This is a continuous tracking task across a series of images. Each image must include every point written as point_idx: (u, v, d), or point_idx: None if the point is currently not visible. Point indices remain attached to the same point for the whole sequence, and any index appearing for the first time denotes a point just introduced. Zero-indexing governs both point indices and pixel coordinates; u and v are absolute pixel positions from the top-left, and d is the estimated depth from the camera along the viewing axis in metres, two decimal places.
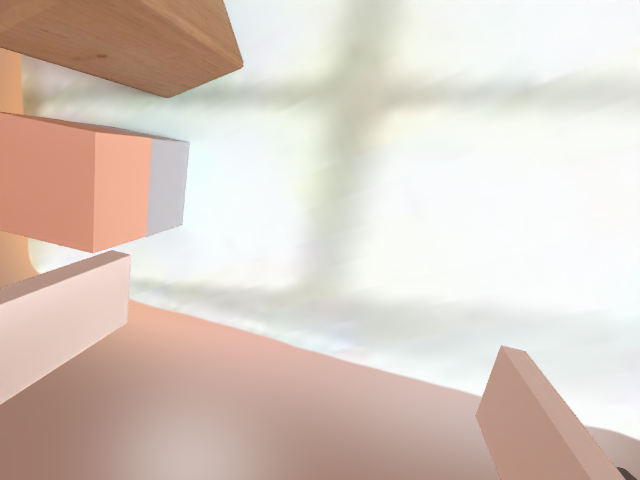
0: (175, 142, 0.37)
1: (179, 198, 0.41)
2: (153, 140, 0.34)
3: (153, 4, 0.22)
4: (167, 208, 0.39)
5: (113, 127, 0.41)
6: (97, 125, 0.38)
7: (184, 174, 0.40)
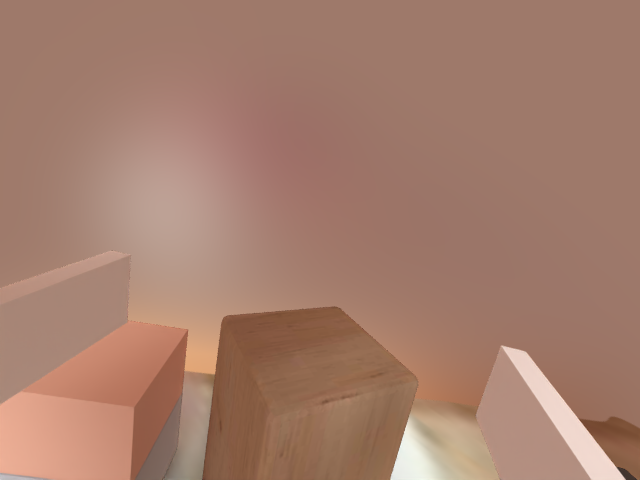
0: None
1: None
2: None
3: None
4: None
5: (175, 449, 0.35)
6: (176, 430, 0.34)
7: None
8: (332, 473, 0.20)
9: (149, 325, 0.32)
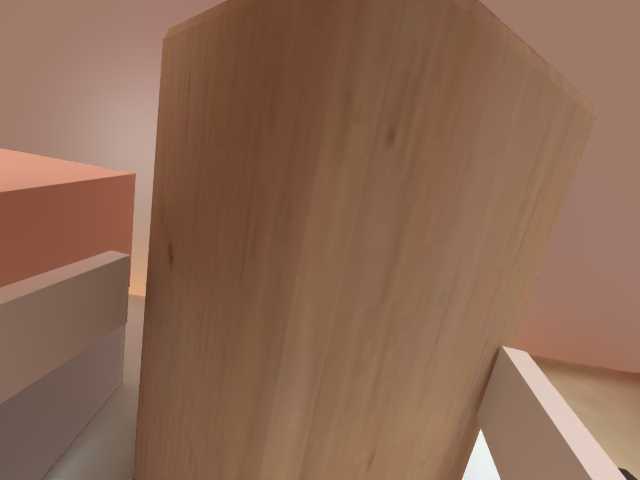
0: None
1: None
2: None
3: (318, 243, 0.05)
4: None
5: (117, 381, 0.22)
6: (119, 348, 0.22)
7: None
8: (462, 280, 0.08)
9: (68, 162, 0.19)
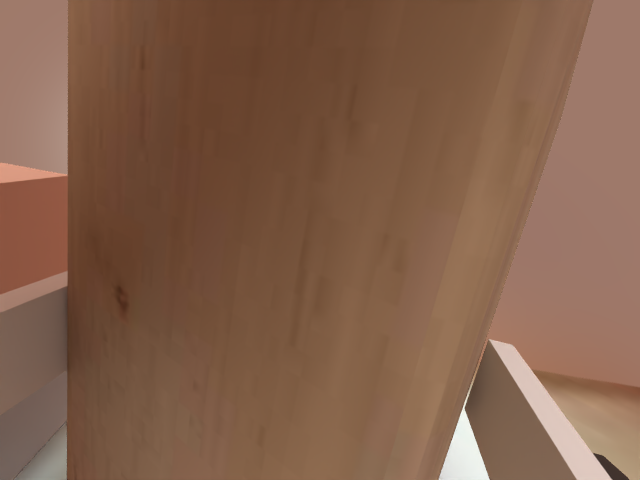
0: None
1: None
2: None
3: (460, 306, 0.04)
4: None
5: (61, 419, 0.19)
6: (60, 382, 0.18)
7: None
8: (498, 294, 0.08)
9: None
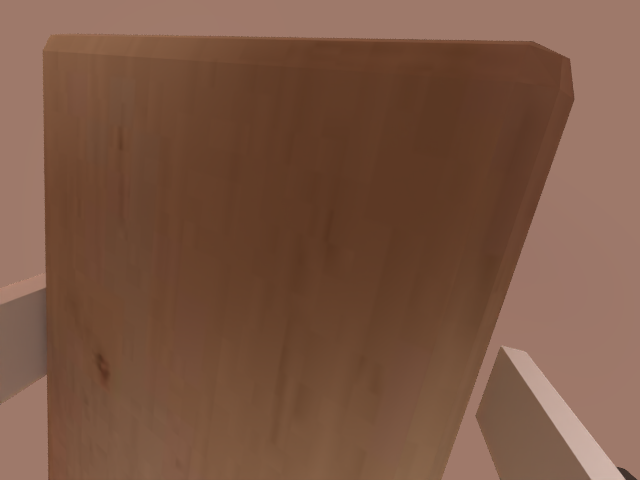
0: None
1: None
2: None
3: (433, 432, 0.04)
4: None
5: None
6: None
7: None
8: None
9: None
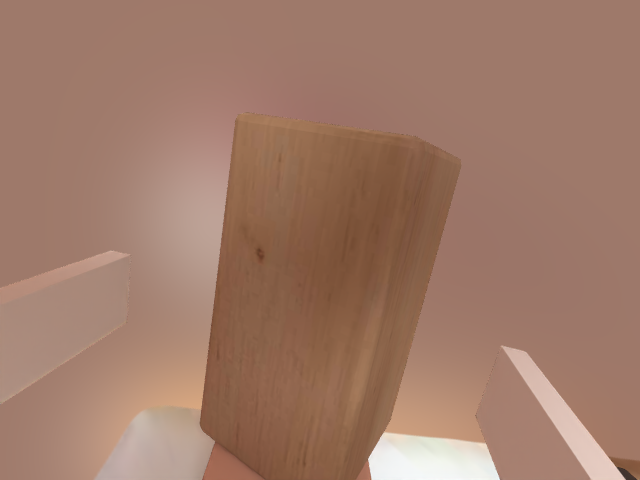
0: None
1: None
2: None
3: (393, 242, 0.14)
4: None
5: None
6: None
7: None
8: (421, 250, 0.18)
9: None
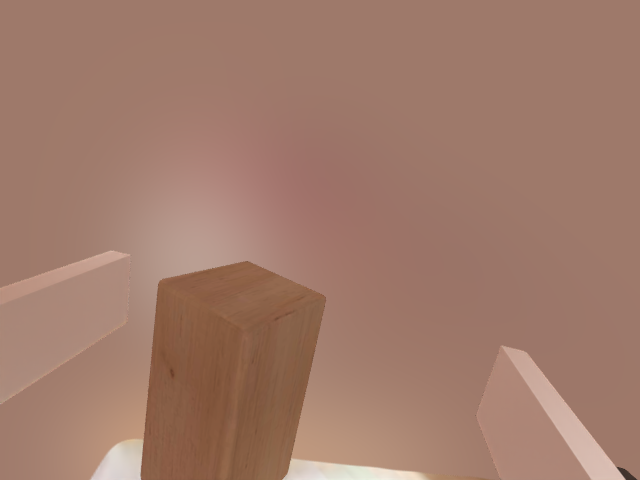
0: None
1: None
2: None
3: (238, 387, 0.23)
4: None
5: None
6: None
7: None
8: (280, 372, 0.27)
9: None
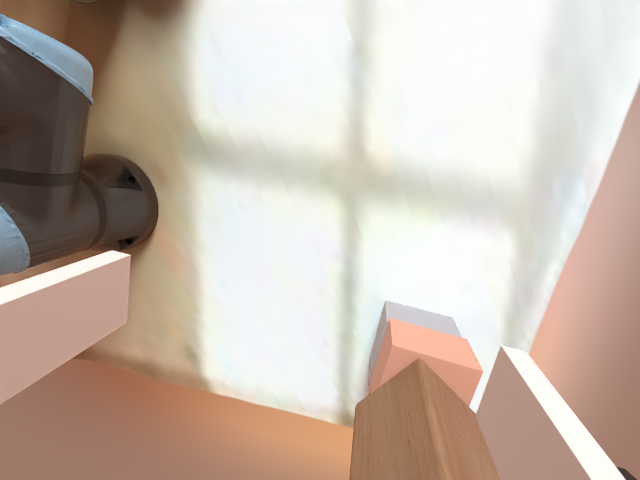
0: (386, 308, 0.49)
1: (429, 314, 0.50)
2: (387, 320, 0.45)
3: None
4: (438, 323, 0.48)
5: (370, 356, 0.54)
6: (370, 365, 0.51)
7: (410, 308, 0.51)
8: None
9: None
